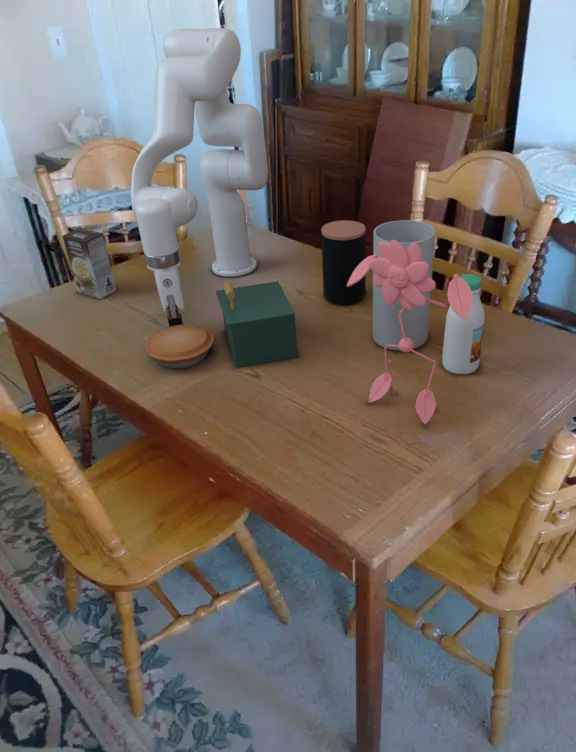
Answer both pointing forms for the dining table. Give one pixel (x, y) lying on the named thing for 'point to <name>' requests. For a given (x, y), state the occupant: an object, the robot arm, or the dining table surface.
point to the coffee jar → (343, 261)
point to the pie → (179, 346)
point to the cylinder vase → (387, 315)
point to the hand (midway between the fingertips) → (177, 330)
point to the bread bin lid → (253, 303)
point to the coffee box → (89, 262)
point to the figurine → (408, 305)
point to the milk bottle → (464, 333)
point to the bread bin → (263, 341)
